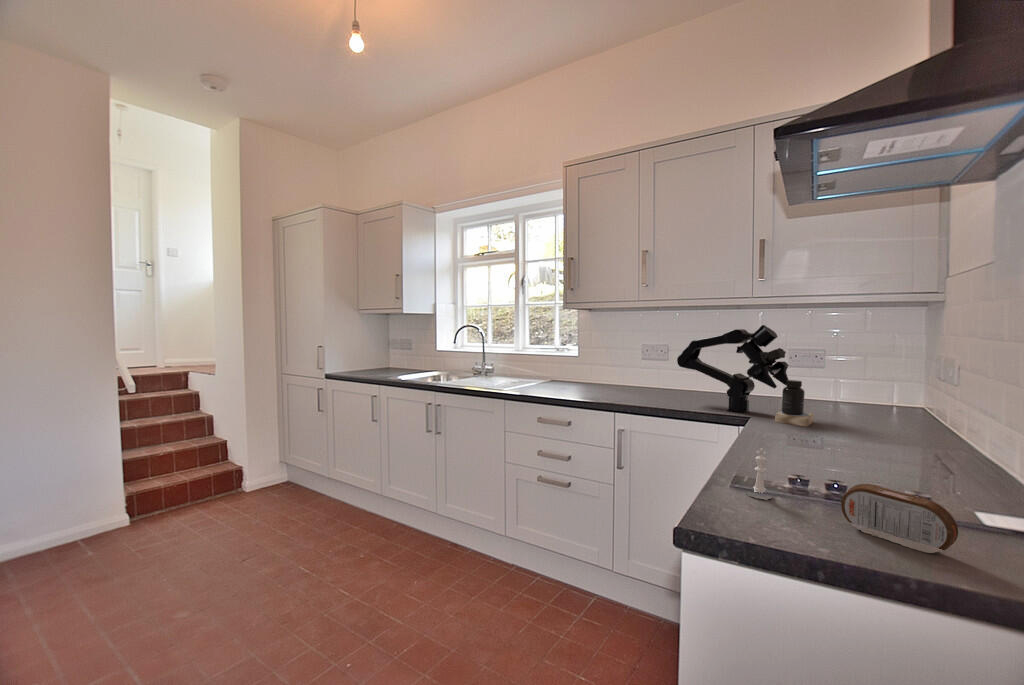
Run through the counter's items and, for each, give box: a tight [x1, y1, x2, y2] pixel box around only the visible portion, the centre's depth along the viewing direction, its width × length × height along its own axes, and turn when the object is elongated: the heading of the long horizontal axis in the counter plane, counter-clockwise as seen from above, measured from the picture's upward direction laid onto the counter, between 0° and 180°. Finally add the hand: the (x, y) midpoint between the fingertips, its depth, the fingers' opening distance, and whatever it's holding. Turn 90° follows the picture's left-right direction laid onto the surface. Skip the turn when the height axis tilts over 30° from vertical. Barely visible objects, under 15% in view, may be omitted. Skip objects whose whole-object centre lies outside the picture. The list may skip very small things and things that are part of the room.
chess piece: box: [752, 448, 767, 493], centre depth 95 cm, size 5×5×10 cm
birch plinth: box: [774, 410, 815, 427], centre depth 166 cm, size 10×10×3 cm
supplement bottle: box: [781, 379, 806, 415], centre depth 165 cm, size 7×7×12 cm
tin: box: [840, 483, 959, 551], centre depth 76 cm, size 15×3×8 cm, turn 35°
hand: (782, 386), depth 169 cm, fingers open, 9 cm apart
